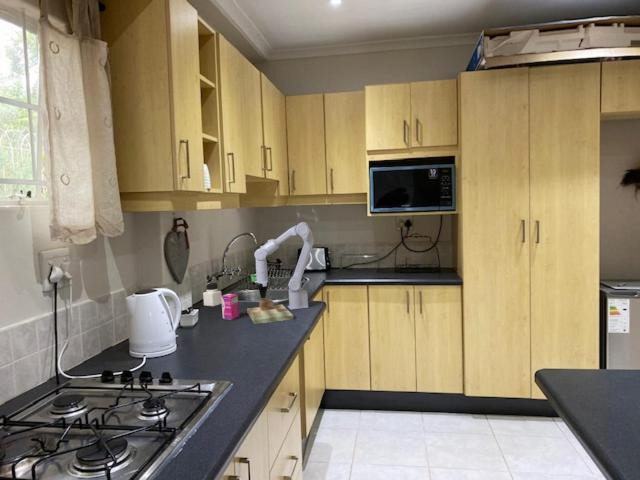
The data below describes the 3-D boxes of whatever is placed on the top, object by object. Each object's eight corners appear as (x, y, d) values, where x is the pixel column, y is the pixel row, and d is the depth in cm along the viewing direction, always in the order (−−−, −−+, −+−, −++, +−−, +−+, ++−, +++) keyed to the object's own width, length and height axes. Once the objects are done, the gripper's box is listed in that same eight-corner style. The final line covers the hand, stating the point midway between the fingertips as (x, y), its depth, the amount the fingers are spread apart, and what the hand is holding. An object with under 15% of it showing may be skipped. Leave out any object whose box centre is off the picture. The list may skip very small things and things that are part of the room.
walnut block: (271, 306, 234) (270, 298, 233) (273, 309, 228) (273, 301, 227) (259, 308, 232) (259, 300, 231) (261, 310, 226) (261, 302, 226)
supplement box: (222, 319, 221) (220, 296, 220) (230, 316, 226) (228, 293, 225) (232, 320, 218) (230, 296, 217) (239, 317, 223) (238, 294, 222)
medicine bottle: (222, 303, 256) (220, 282, 255) (213, 306, 250) (211, 284, 249) (213, 302, 260) (211, 281, 258) (203, 305, 254) (202, 283, 252)
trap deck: (282, 308, 237) (282, 304, 237) (293, 319, 214) (293, 315, 214) (247, 312, 232) (247, 308, 232) (254, 324, 209) (254, 319, 209)
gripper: (251, 270, 242) (253, 296, 243) (256, 274, 228) (257, 301, 229) (265, 269, 244) (266, 294, 245) (270, 273, 230) (271, 300, 231)
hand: (263, 298), depth 237 cm, fingers closed
